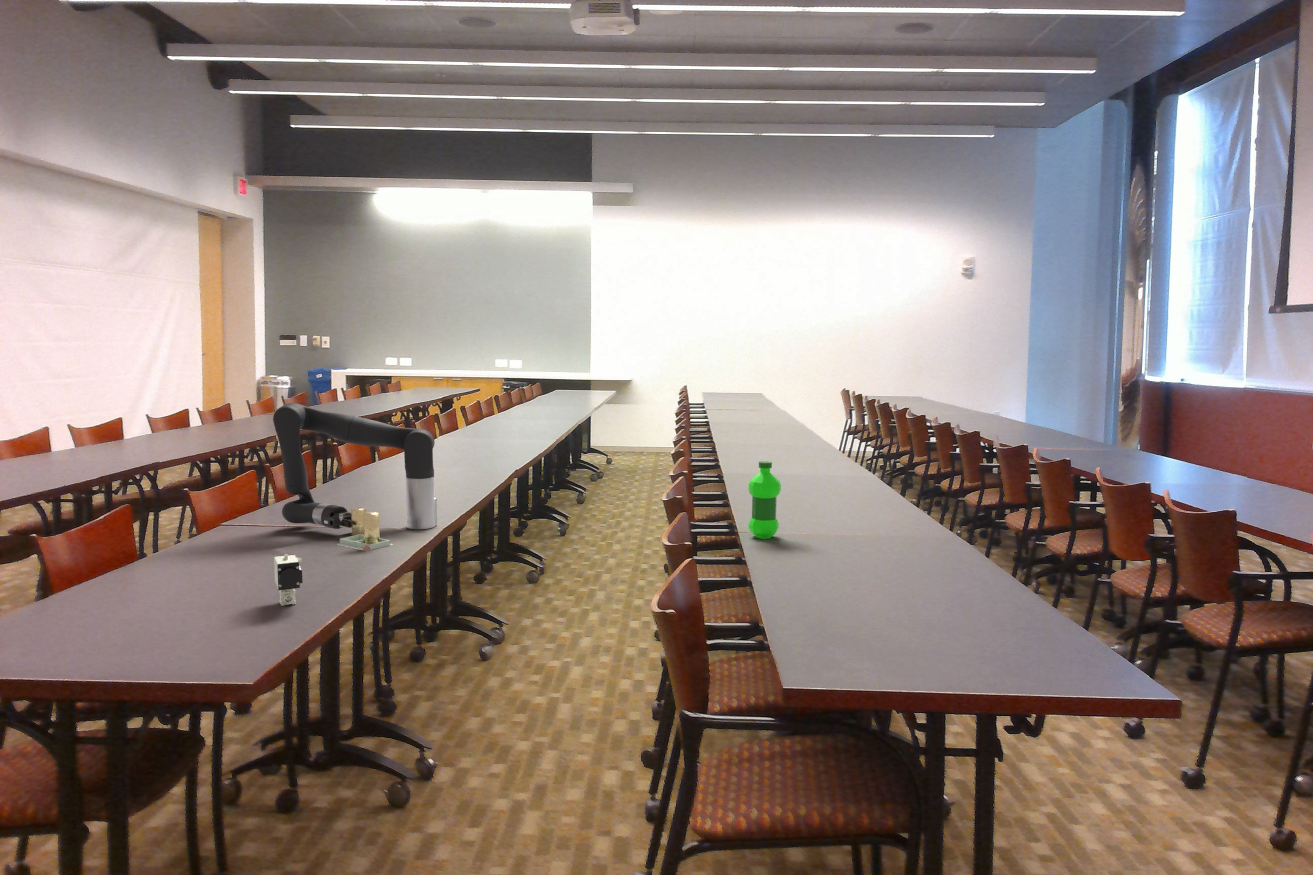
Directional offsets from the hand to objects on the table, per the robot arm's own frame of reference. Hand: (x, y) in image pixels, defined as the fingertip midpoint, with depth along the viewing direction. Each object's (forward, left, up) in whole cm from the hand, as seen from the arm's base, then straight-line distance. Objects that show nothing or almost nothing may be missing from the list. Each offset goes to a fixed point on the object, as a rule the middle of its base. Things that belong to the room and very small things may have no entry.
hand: (362, 522), depth 270 cm
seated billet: (+7, +13, -5) cm, 15 cm away
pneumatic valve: (+52, +39, -6) cm, 66 cm away
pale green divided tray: (+7, +10, -6) cm, 13 cm away
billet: (0, -2, -6) cm, 6 cm away
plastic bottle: (-79, +101, -6) cm, 129 cm away
